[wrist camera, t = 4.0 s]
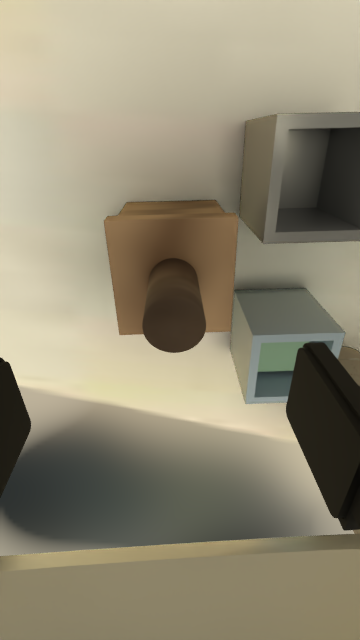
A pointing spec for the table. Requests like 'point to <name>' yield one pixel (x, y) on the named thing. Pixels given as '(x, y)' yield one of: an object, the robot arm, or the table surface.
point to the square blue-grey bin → (275, 336)
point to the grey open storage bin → (302, 177)
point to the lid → (173, 275)
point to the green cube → (278, 356)
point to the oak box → (171, 207)
